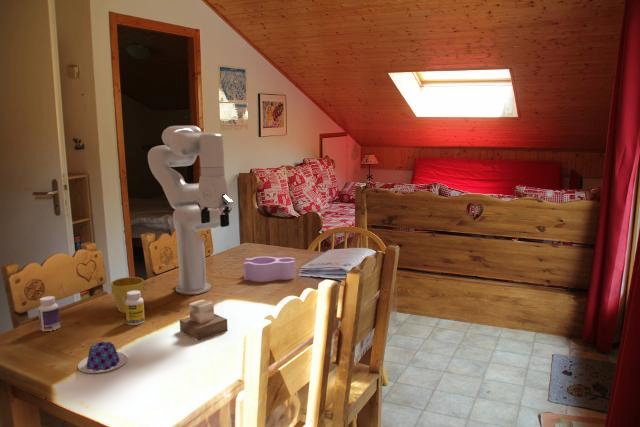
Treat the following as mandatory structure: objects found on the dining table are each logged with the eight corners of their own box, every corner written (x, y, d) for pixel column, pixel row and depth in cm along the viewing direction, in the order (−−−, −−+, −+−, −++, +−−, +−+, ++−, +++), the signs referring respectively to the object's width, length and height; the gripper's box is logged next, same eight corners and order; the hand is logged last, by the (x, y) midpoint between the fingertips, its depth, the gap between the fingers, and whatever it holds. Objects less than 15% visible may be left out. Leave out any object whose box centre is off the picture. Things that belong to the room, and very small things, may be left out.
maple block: (190, 319, 157) (189, 303, 156) (203, 315, 161) (202, 299, 160) (200, 323, 154) (199, 307, 153) (214, 318, 158) (213, 302, 157)
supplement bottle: (128, 326, 162) (125, 296, 160) (125, 321, 167) (123, 291, 165) (146, 323, 164) (144, 293, 163) (143, 317, 169) (141, 288, 167)
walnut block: (180, 332, 158) (179, 319, 158) (208, 323, 165) (208, 311, 164) (198, 341, 151) (197, 328, 150) (227, 331, 158) (227, 319, 157)
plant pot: (151, 308, 177) (149, 280, 175) (122, 317, 170) (120, 288, 168) (136, 301, 184) (134, 274, 182) (107, 309, 177) (105, 281, 175)
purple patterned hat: (88, 355, 143) (86, 337, 142) (133, 353, 144) (131, 335, 143) (70, 376, 131) (68, 356, 131) (120, 374, 132) (118, 354, 131)
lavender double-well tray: (295, 272, 218) (295, 255, 217) (295, 281, 206) (294, 264, 204) (246, 273, 217) (246, 256, 216) (243, 282, 205) (242, 265, 204)
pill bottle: (64, 326, 163) (61, 296, 161) (50, 333, 158) (47, 301, 156) (50, 324, 165) (47, 294, 163) (36, 330, 160) (33, 300, 158)
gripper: (186, 171, 173) (189, 223, 176) (221, 175, 162) (223, 229, 165) (205, 169, 178) (207, 219, 181) (239, 172, 167) (241, 225, 170)
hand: (215, 224), depth 173 cm, fingers open, 9 cm apart
